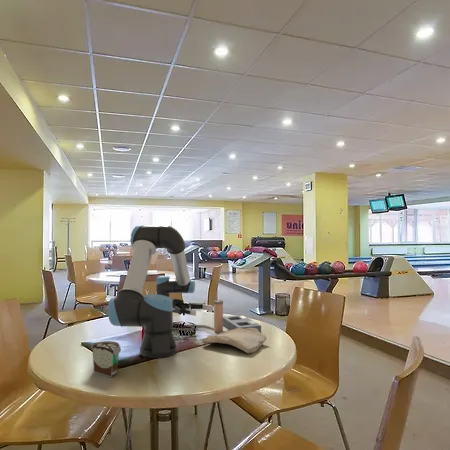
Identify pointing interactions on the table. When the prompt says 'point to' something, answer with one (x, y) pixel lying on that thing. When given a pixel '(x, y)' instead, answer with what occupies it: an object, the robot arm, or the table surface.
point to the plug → (218, 315)
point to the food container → (106, 357)
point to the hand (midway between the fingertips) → (204, 310)
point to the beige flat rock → (239, 339)
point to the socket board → (240, 322)
